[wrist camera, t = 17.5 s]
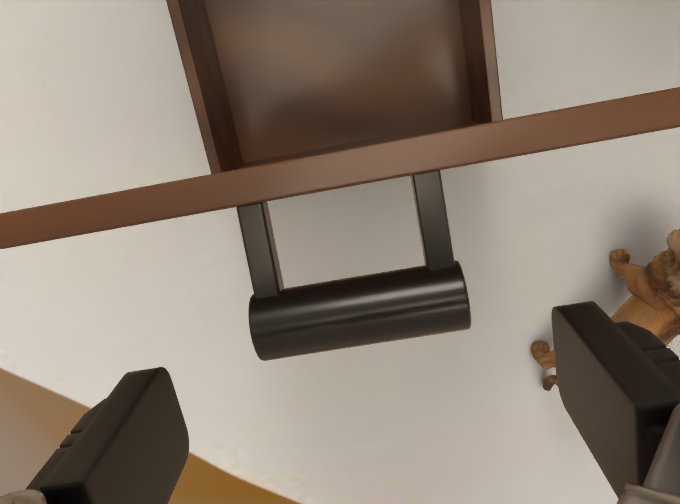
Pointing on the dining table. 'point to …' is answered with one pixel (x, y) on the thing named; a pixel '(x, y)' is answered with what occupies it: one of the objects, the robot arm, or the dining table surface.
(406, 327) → the lid
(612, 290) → the dining table surface
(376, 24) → the chest
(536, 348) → the lion figurine
